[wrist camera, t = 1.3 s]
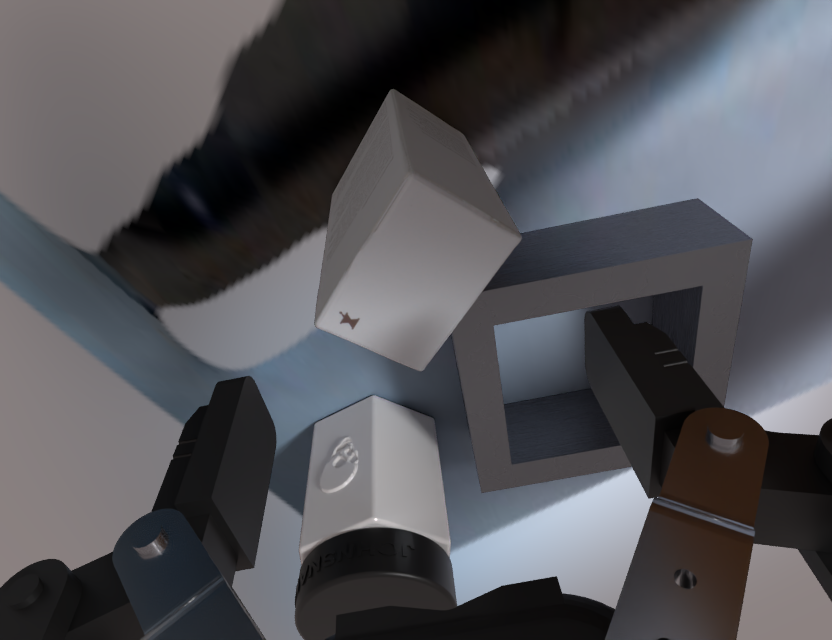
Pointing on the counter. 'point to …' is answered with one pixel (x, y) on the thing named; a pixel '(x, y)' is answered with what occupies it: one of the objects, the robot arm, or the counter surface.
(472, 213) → the skincare box
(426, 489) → the jar
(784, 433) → the robot arm
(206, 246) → the counter surface
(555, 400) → the socket block
